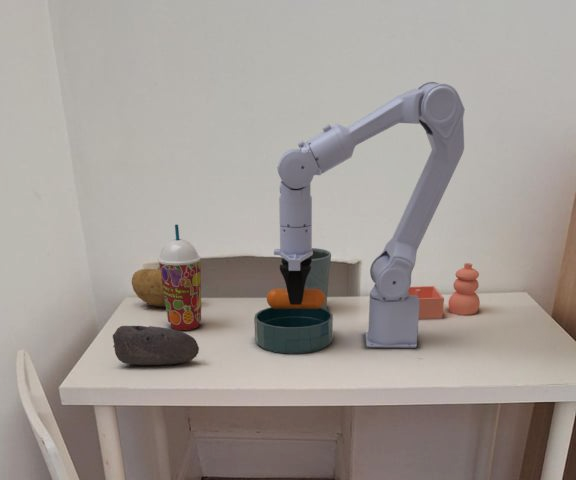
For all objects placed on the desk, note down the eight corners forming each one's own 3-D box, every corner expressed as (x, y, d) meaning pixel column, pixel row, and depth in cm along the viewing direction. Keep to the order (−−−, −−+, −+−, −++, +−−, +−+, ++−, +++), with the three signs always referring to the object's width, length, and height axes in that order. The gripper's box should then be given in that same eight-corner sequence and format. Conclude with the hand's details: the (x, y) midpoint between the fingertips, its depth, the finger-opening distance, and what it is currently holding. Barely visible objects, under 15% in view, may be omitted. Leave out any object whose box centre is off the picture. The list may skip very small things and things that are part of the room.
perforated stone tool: (202, 358, 138) (199, 321, 135) (198, 369, 134) (195, 331, 130) (121, 358, 139) (116, 322, 135) (115, 369, 134) (109, 331, 131)
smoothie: (157, 330, 153) (146, 227, 143) (177, 318, 160) (168, 219, 149) (193, 334, 150) (185, 230, 140) (212, 322, 157) (205, 222, 146)
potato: (192, 312, 163) (189, 274, 159) (129, 311, 164) (124, 274, 160) (200, 299, 172) (197, 263, 168) (140, 299, 173) (135, 263, 169)
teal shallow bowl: (332, 329, 152) (332, 304, 149) (332, 354, 139) (332, 328, 137) (259, 328, 153) (258, 304, 150) (252, 354, 140) (251, 328, 138)
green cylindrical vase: (314, 300, 170) (315, 245, 163) (339, 311, 162) (340, 254, 156) (276, 307, 165) (274, 251, 159) (299, 319, 158) (299, 260, 152)
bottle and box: (399, 319, 157) (402, 271, 152) (391, 306, 165) (394, 260, 160) (484, 317, 158) (490, 269, 153) (472, 304, 166) (477, 258, 161)
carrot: (325, 305, 142) (325, 286, 140) (325, 311, 139) (325, 291, 137) (267, 305, 143) (267, 286, 141) (266, 311, 140) (265, 291, 138)
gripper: (275, 217, 140) (277, 290, 147) (270, 232, 127) (272, 312, 134) (313, 216, 139) (313, 290, 146) (312, 232, 127) (311, 312, 134)
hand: (296, 300), depth 140 cm, fingers closed on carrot, 3 cm apart
